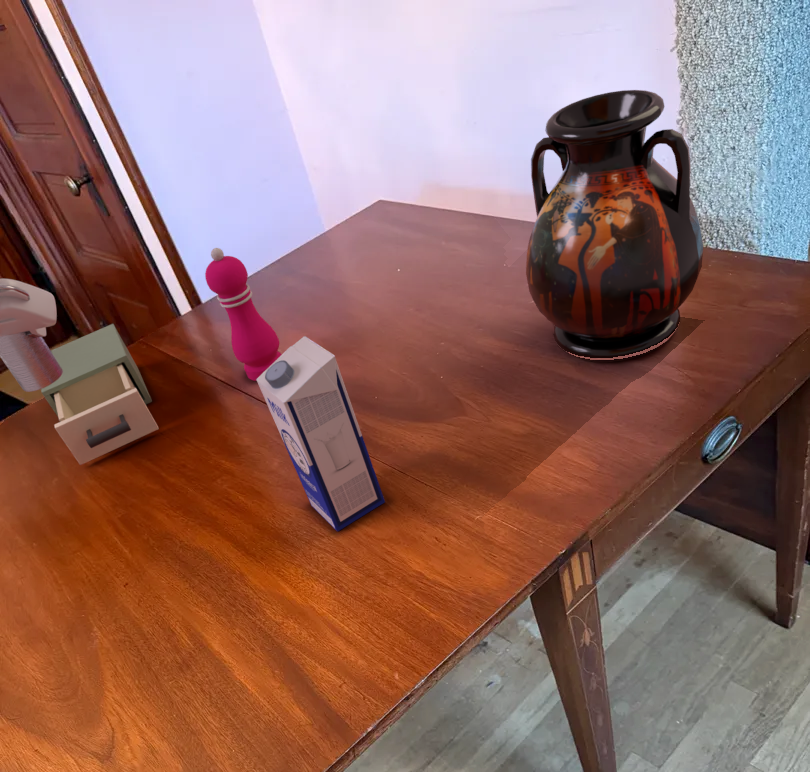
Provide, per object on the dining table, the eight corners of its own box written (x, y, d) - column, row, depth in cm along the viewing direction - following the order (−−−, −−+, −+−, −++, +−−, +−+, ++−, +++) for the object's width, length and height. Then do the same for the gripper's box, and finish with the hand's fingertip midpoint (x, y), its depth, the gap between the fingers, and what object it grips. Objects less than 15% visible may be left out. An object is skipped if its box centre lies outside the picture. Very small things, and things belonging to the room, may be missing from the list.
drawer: (164, 441, 108) (142, 402, 104) (83, 479, 106) (57, 441, 102) (143, 392, 121) (123, 356, 117) (71, 425, 119) (47, 389, 115)
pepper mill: (265, 355, 122) (215, 235, 109) (297, 360, 118) (249, 237, 105) (236, 379, 119) (180, 259, 105) (267, 386, 115) (213, 262, 101)
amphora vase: (509, 368, 102) (472, 152, 83) (574, 289, 113) (554, 83, 94) (667, 387, 90) (666, 141, 71) (722, 297, 101) (734, 64, 83)
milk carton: (386, 502, 87) (334, 354, 74) (338, 532, 86) (276, 385, 72) (356, 477, 92) (303, 333, 79) (310, 505, 91) (248, 362, 77)
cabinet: (152, 401, 120) (126, 355, 114) (72, 438, 118) (41, 392, 112) (137, 367, 131) (113, 323, 125) (63, 400, 129) (35, 357, 123)
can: (23, 397, 96) (-36, 312, 88) (21, 380, 100) (-36, 297, 92) (65, 378, 97) (10, 292, 89) (61, 362, 101) (8, 279, 93)
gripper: (1, 253, 79) (86, 296, 92) (-153, 291, 84) (-51, 326, 97) (7, 312, 79) (91, 346, 92) (-148, 346, 83) (-46, 373, 97)
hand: (17, 336), depth 95 cm, fingers closed on can, 5 cm apart
